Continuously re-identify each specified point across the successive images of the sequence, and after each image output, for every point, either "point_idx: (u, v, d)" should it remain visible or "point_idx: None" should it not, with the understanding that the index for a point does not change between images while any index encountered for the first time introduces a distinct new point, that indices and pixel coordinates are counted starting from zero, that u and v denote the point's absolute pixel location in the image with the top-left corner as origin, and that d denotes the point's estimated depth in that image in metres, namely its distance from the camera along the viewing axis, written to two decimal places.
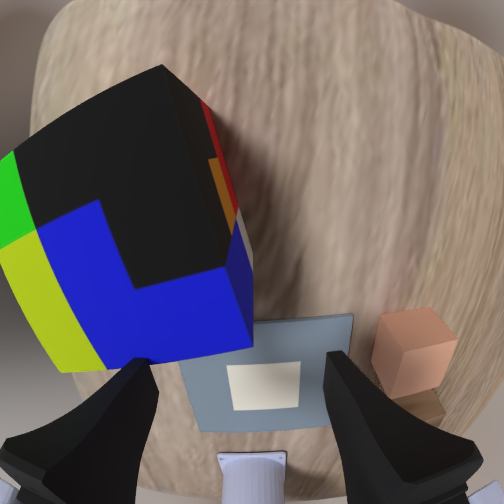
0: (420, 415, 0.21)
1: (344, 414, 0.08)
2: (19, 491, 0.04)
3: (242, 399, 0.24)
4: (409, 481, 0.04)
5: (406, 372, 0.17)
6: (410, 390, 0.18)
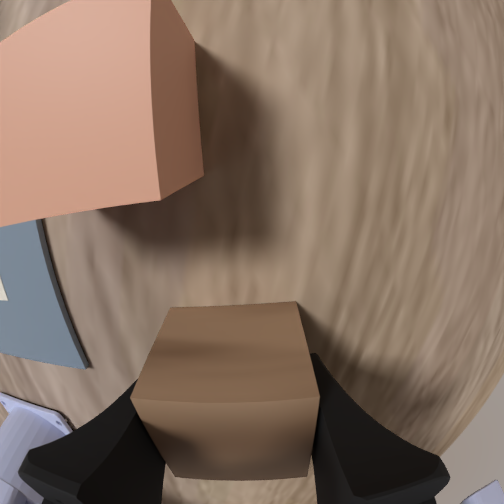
0: (208, 382, 0.07)
1: None
2: (42, 503, 0.04)
3: None
4: (361, 495, 0.04)
5: None
6: (32, 198, 0.05)
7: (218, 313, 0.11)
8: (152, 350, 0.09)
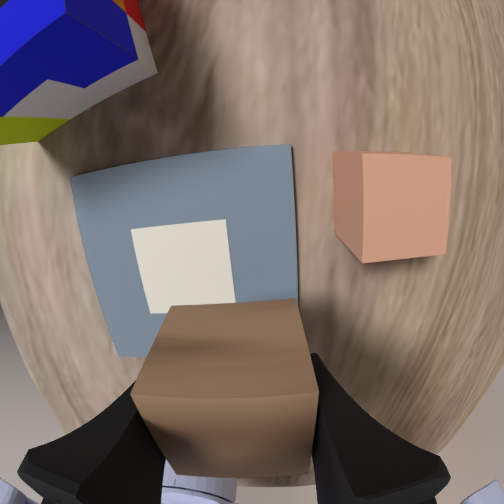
0: (207, 378, 0.07)
1: None
2: (41, 503, 0.04)
3: (158, 292, 0.19)
4: (362, 495, 0.04)
5: (379, 201, 0.12)
6: (396, 250, 0.13)
7: (218, 310, 0.11)
8: (152, 347, 0.09)
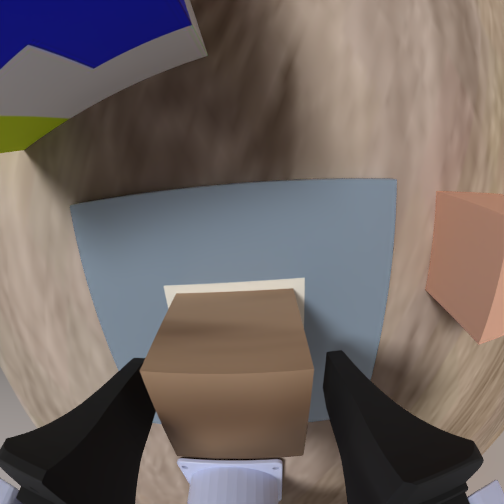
0: (212, 356, 0.08)
1: (344, 414, 0.08)
2: (19, 491, 0.04)
3: None
4: (409, 481, 0.04)
5: None
6: None
7: (221, 297, 0.12)
8: (160, 330, 0.10)
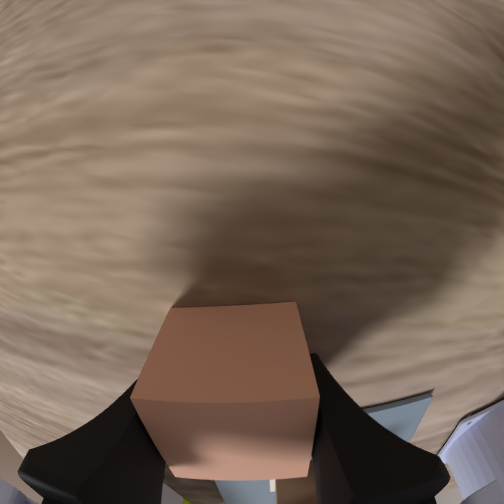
0: None
1: None
2: (42, 503, 0.04)
3: None
4: (362, 495, 0.04)
5: (227, 472, 0.08)
6: (295, 456, 0.08)
7: (275, 485, 0.15)
8: None
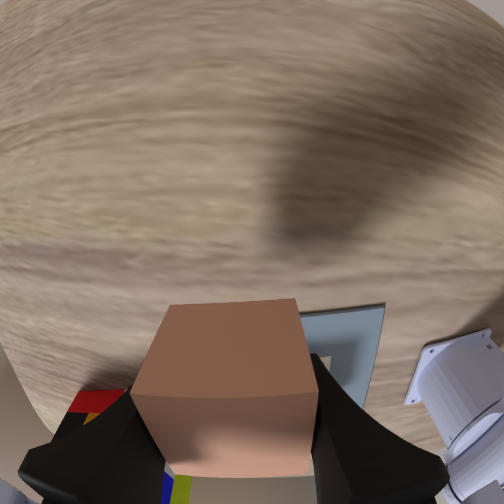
0: None
1: None
2: None
3: None
4: (362, 495, 0.04)
5: (226, 469, 0.08)
6: (295, 453, 0.08)
7: None
8: None
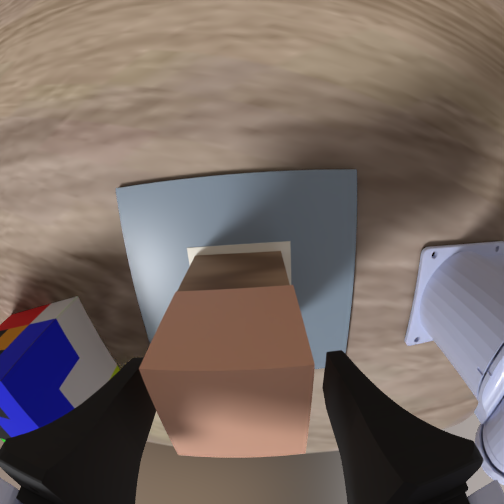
0: None
1: (344, 414, 0.08)
2: (19, 491, 0.04)
3: None
4: (409, 481, 0.04)
5: (228, 448, 0.09)
6: (294, 430, 0.09)
7: None
8: None
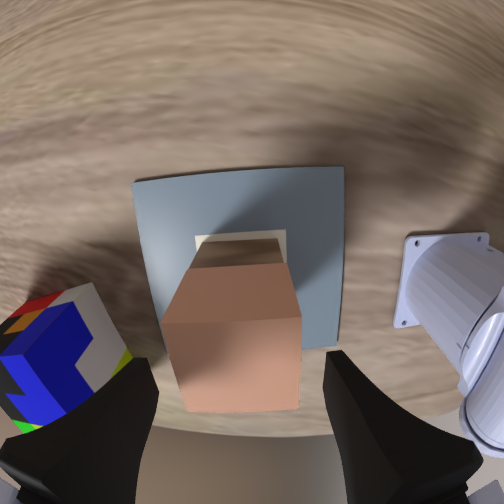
0: None
1: (344, 414, 0.08)
2: (19, 491, 0.04)
3: None
4: (410, 481, 0.04)
5: (232, 401, 0.11)
6: (287, 382, 0.11)
7: None
8: None
